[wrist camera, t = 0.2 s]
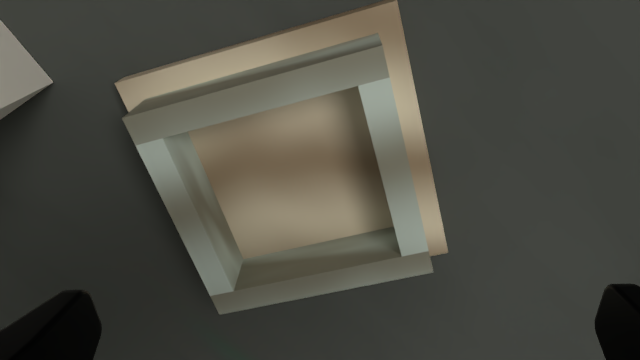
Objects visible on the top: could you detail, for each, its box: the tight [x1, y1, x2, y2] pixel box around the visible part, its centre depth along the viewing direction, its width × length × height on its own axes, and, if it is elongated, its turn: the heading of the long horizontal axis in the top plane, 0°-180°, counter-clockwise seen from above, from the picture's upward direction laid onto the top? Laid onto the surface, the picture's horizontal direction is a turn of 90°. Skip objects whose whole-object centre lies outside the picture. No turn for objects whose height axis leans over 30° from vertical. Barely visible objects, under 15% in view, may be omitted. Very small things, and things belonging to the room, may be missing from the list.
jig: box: [115, 0, 448, 315], centre depth 22 cm, size 12×12×4 cm
